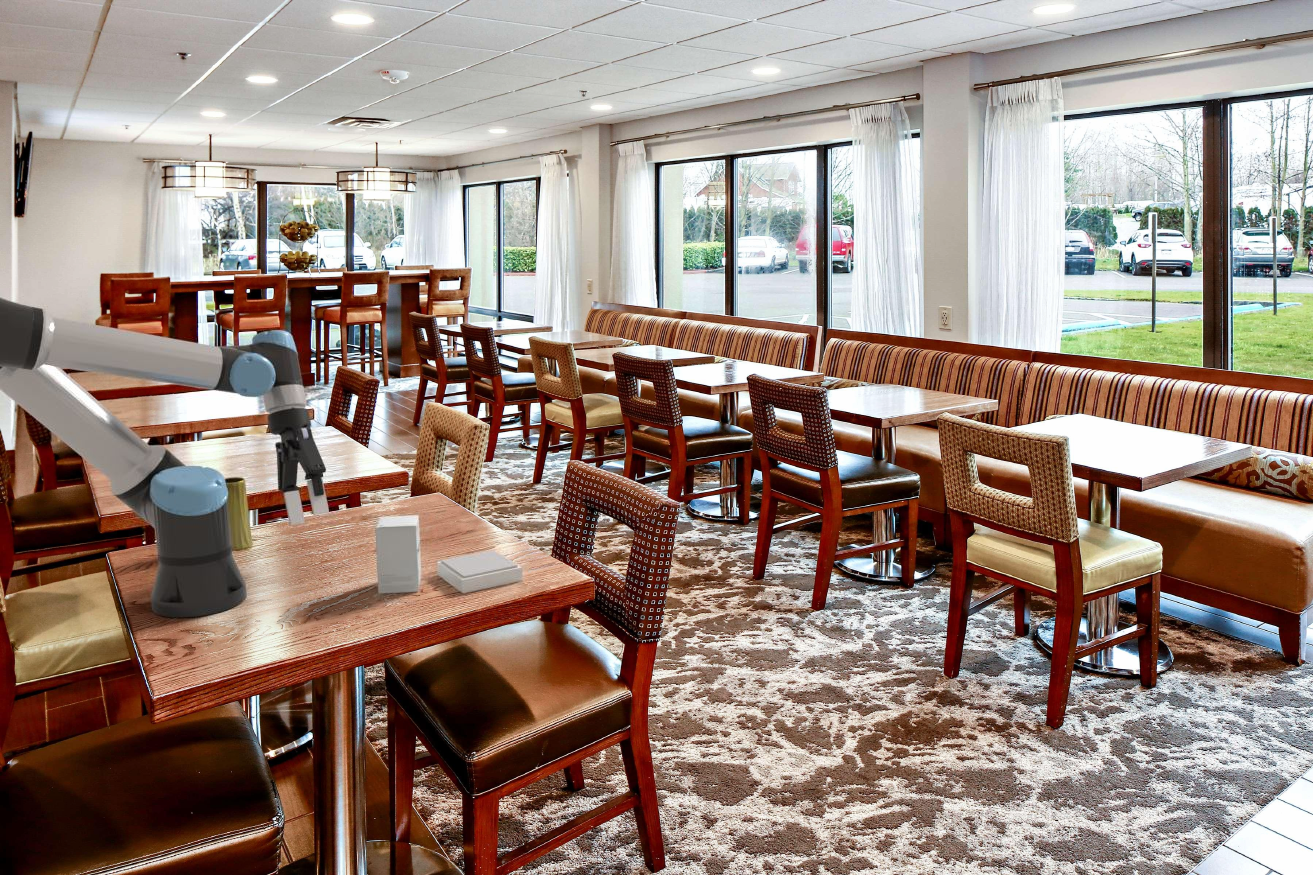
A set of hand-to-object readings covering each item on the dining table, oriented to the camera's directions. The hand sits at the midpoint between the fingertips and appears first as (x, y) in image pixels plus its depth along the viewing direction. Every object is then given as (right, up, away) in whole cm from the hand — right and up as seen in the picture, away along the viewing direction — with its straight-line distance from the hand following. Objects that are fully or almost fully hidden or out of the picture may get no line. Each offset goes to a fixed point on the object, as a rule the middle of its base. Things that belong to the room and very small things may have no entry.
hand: (309, 519), depth 180 cm
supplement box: (+19, -12, -5) cm, 23 cm away
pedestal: (+33, -11, 0) cm, 34 cm away
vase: (-22, -7, +18) cm, 29 cm away
